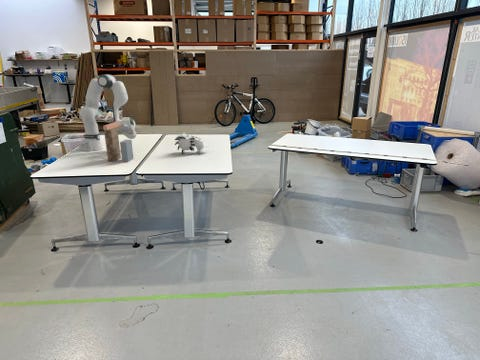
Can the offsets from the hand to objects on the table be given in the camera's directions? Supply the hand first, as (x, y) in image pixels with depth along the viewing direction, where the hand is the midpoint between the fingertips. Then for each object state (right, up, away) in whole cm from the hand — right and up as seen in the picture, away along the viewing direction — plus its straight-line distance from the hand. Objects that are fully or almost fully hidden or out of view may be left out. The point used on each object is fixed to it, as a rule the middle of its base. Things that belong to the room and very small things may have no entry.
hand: (117, 124), depth 275 cm
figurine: (+59, -22, +20) cm, 66 cm away
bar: (-1, -4, -8) cm, 9 cm away
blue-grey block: (+10, -30, -4) cm, 32 cm away
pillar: (-2, -29, -2) cm, 30 cm away
